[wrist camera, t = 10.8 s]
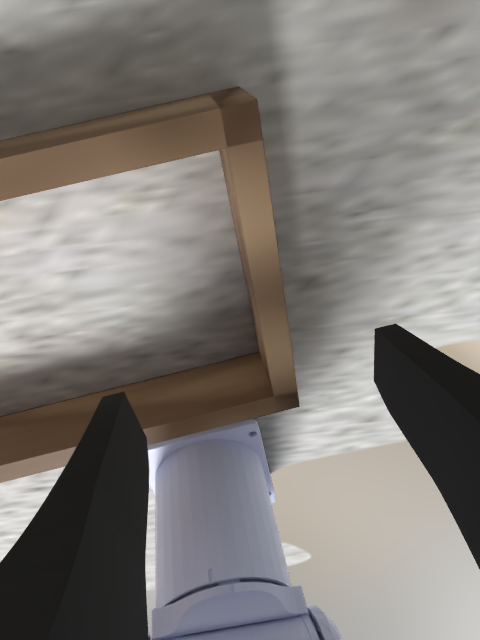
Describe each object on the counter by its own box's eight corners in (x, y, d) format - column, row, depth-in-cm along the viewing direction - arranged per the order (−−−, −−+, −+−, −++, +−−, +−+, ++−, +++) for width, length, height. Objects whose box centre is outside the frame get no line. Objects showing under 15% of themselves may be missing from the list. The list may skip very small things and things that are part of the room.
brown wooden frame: (282, 362, 24) (299, 406, 22) (-10, 435, 24) (-32, 490, 21) (238, 86, 16) (257, 99, 13) (-216, 190, 15) (-298, 227, 13)
